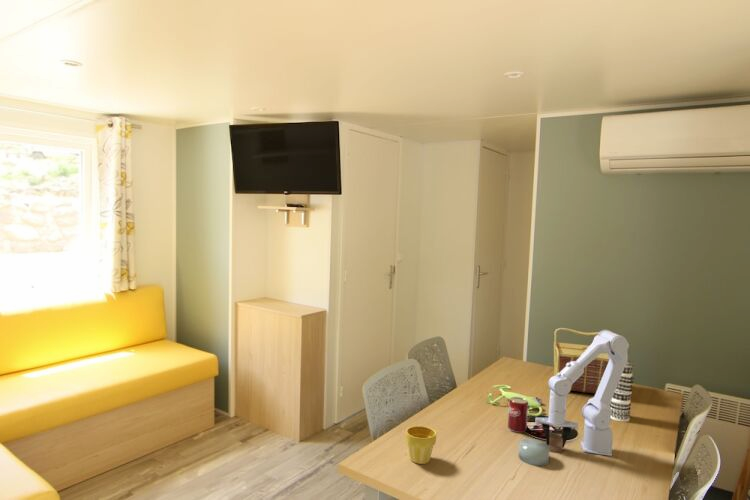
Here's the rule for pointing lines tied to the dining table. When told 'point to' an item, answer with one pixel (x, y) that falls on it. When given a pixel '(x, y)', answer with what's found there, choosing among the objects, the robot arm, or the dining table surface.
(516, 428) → the soda can
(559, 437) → the walnut block
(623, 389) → the decorative candle
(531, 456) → the grey rounded dome
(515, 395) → the figurine
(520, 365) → the dining table surface
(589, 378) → the picnic basket
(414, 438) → the plant pot
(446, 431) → the dining table surface
